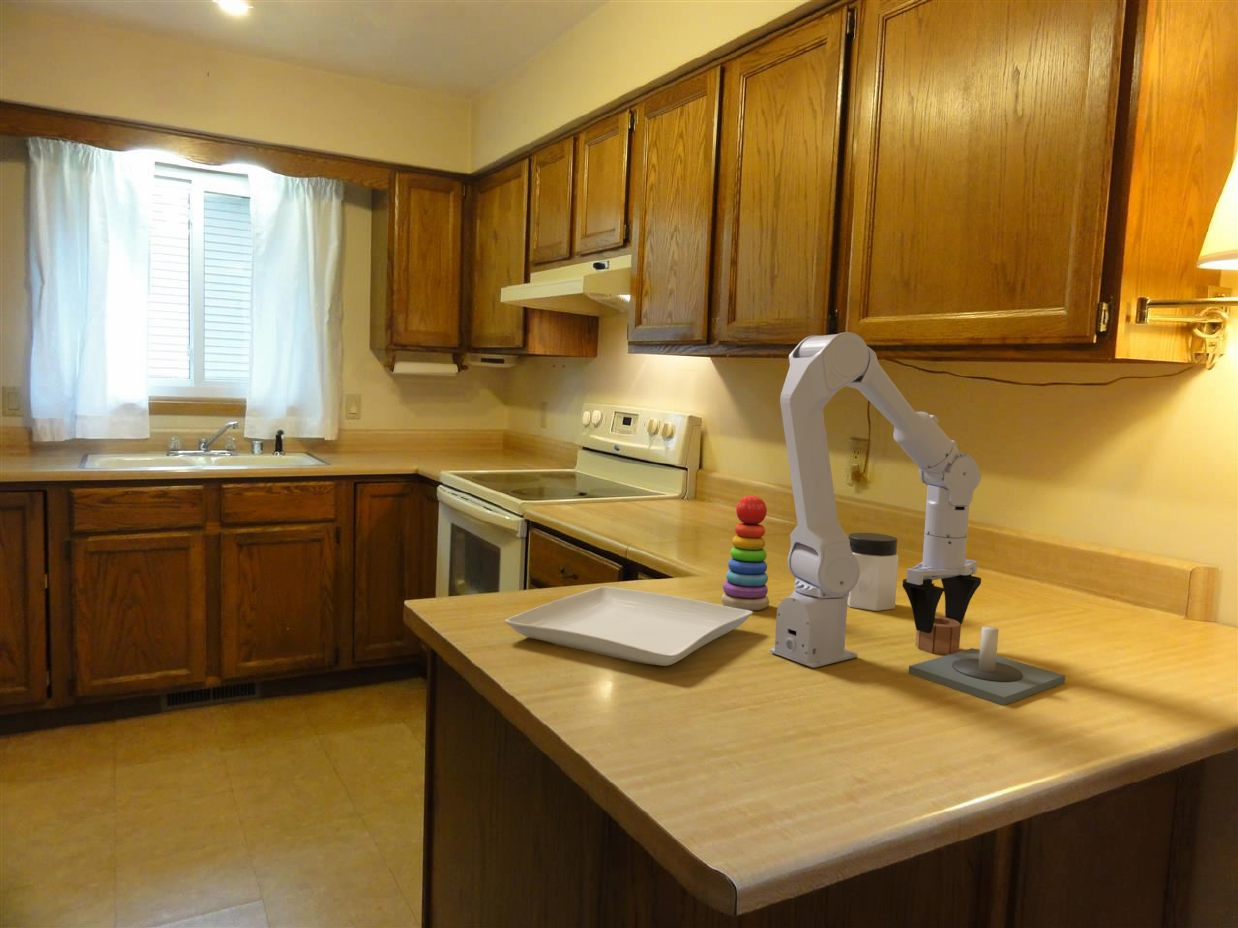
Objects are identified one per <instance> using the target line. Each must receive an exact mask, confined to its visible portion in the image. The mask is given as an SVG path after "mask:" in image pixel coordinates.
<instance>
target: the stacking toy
mask: <svg viewBox="0 0 1238 928" xmlns="http://www.w3.org/2000/svg"><path fill="white" fill-rule="evenodd" d="M767 509H768V508H767V505H766V503H765V501H764V500H763V499H762V498H761V497H759V496H756V495H746V496H744V497H742V498H741V499H740V500H739V501H738V502H737V504H736V509H735V510H736V511H735V513H736V516H737V518H738V519H739V521H740V522H739V523H738V524H736V525H735V526H734V527H735V528H734V532H735V534H736V535H734V536H733V537H732V539H731V542H732V545H733V547H732V548H731V549H730V556H731V557H732V558H730V559H729V560H728V569H729V570H727V572H726V574H725V578H726V580H727V581H725V582H724V583H723V585H722V591H723V592H724V593H722V594H721V603H722V605H723V606H728V607H733V608H738V609H744V610H750V611H752V612H754V611H755V612H756V611H761V610H764V609H766V608H767V607H769V604H770V599H769V597H768V595H767V594H768V592H769V588H768V586H767V582H768V580H769V576H768V574H767V573H766V572H767V570H768V564H767V563H766V561H765V560H766V559H767V551H766V550H765V549H764V548H765V546H766V540H765V539H764V538H763V536H765V534H766V528H765V526H763V525H762V524H761V523H762V522H763V521H764V520H765V518H766V517H767V513H768V512H767V511H768V510H767Z"/></svg>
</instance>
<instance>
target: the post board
mask: <svg viewBox="0 0 1238 928" xmlns="http://www.w3.org/2000/svg"><path fill="white" fill-rule="evenodd" d="M998 639H999V628H997V627H993V626H982V627H981V633H980V645H979V649H976V648H973V647H972V648H969V649H968V648H967V649H964V650H959V652H957V653H953V654H949V655H946V654H945V655H943V656H939V657H935V658H932V659H929V660H924V661H922V662H918V663H914V664H911V665H909V666H908V674H910V675H912V676H915V677H918V678H921V679H923V680H928V681H930V682H933V683H936V684H939V685H942V686H945V687H948V688H950V689H954V690H956V691H960V692H963V693H965V694H969V695H971V696H975V697H977V698H981V699H983V700H986V701H989V702H992V703H994V704H998V705H1002V706H1006V705H1009V704H1011V703H1014V702H1017V701H1020V700H1022V699H1024V698H1028V697H1030V696H1032V695H1035V694H1039V693H1041V692H1044V691H1046V690H1049V689H1052V688H1055V687H1057V686H1061V685H1062V684H1065V683H1066V674H1065V675H1064V674H1062V673H1059V672H1055V671H1052V670H1048V669H1045V668H1041V667H1037V666H1036V665H1035V666H1034V665H1031V664H1027V663H1025V662H1022V661H1021V662H1020V661H1018V660H1015V659H1010V658H1007V657H1003V656H1000V655H997V653H998Z"/></svg>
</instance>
